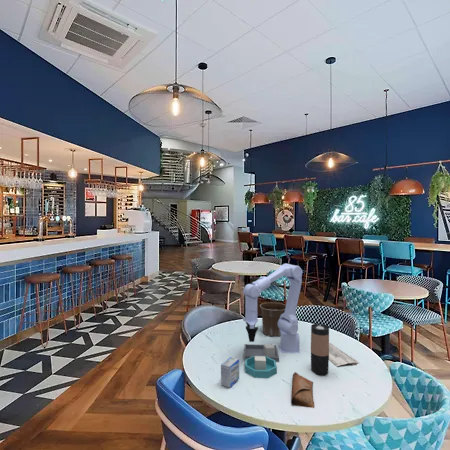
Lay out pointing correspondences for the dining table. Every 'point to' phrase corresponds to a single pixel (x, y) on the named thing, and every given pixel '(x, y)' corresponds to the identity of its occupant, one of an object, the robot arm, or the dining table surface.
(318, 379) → the dining table surface
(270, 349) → the light gray cube block
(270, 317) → the plant pot
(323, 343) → the travel mug
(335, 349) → the newspaper
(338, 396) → the dining table surface
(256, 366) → the white rectangular block
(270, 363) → the bowl
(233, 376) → the medicine box
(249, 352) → the parts tray
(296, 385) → the sunglasses case
